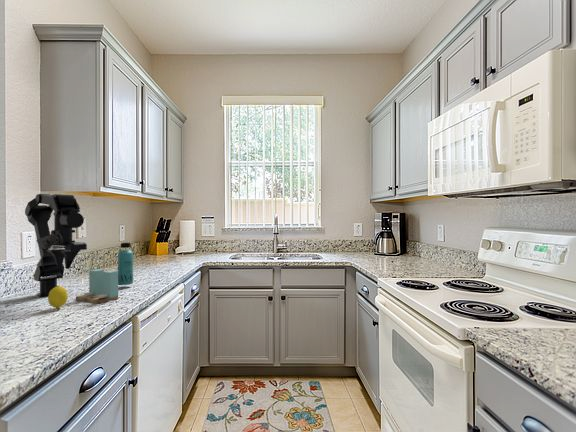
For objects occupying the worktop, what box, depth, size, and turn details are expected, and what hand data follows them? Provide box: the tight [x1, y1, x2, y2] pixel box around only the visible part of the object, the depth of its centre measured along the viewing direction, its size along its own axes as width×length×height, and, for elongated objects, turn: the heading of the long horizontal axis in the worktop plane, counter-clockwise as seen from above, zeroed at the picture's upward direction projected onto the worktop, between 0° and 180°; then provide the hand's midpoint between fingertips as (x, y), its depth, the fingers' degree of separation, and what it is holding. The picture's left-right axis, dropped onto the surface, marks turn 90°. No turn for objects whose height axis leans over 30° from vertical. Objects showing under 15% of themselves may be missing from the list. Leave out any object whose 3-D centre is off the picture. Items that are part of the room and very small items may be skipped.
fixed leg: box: [99, 270, 119, 298], centre depth 125 cm, size 4×6×10 cm, turn 157°
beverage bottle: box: [117, 242, 134, 286], centre depth 149 cm, size 6×7×20 cm
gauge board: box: [75, 294, 119, 304], centre depth 127 cm, size 14×8×1 cm, turn 67°
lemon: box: [47, 285, 69, 310], centre depth 114 cm, size 6×6×8 cm
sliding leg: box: [83, 268, 105, 296], centre depth 129 cm, size 4×6×10 cm, turn 157°
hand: (63, 268), depth 126 cm, fingers open, 4 cm apart
